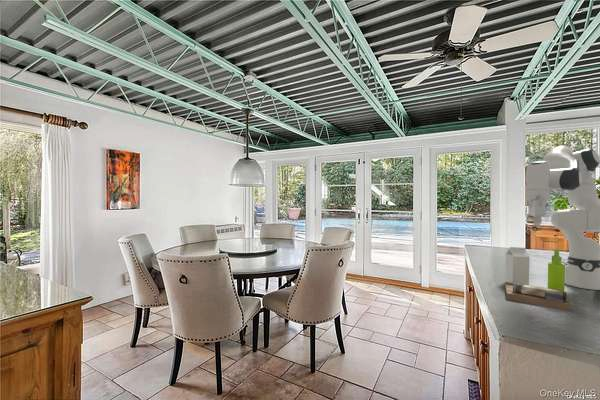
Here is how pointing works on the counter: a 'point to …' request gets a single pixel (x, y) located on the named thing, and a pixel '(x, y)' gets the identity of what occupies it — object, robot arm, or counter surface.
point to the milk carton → (517, 266)
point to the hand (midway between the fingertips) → (536, 225)
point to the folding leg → (534, 290)
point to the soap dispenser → (556, 272)
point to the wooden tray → (539, 298)
